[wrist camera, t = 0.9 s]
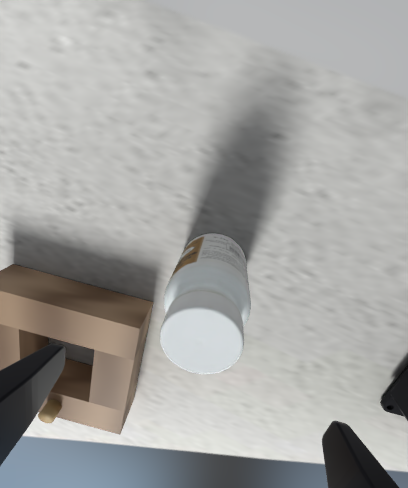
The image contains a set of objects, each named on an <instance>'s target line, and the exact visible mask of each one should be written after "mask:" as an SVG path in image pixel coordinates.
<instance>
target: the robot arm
mask: <svg viewBox="0 0 408 488" xmlns="http://www.w3.org/2000/svg"><path fill="white" fill-rule="evenodd" d="M65 350H66V349H65V346H63V345H60V344H56V343H52V344H49V345H47V346H45V347H43V348H41V349H40V350H38V351H36V352H34V353H32V354H30V355H28V356H26V357H24V358H22V359H21V360H19V361H17V362H15V363H13V364H11V365H9V366H7V367H5V368H4V369H2V370H0V466H1V464H2V463H3V461H4V460H5V459H6V457H7V456H8V455H9V453H10V451H11V450H12V449H13V448H14V446H15V445H16V443H17V442H18V441H19V439H20V438H21V436H22V435H23V434H24V432H25V431H26V430H27V428H28V427H29V425H30V424H31V422H32V421H33V419H34V418H35V416H36V414H37V413H38V411H39V409H40V408H41V406H42V404H43V403H44V401H45V399H46V398H47V396H48V394H49V393H50V391H51V389H52V388H53V386H54V384H55V383H56V381H57V379H58V378H59V376H60V374H61V372H62V371H63V368H64V365H65ZM380 403H381V406H382V407H383V409H384V410H385V411H387V412H390V413H394V414H397V415H401V416H405V418H406V419H407V421H408V366H407V367H406V368H405V370H404V371H403V372H402V374H401V375H400V376H399V378H398V379H397V380H396V382H395V383H394V384H393V386H392V387H391V388H390V390H389V391H388V392H387V394H386V395H385V396H384V398H383V399H382V400H381V402H380ZM322 446H323V453H324V460H325V467H326V475H327V482H328V488H399V487H398V486H397V484H396V483H395V482H394V481H393V479H392V478H391V477H390V476H389V475H388V474H387V472H386V471H385V470H384V468H383V467H382V466H381V465H380V463H379V462H378V461H377V460H376V458H375V457H374V456H373V455H372V454H371V452H370V451H369V450H368V449H367V447H366V446H365V445H364V444H363V442H362V441H361V440H360V439H359V437H358V436H357V435H356V434H355V433H354V431H353V430H352V429H351V428H350V427H349V426H348V425H347V424H345V423H342V422H339V421H333V422H332V423H331V424H330V426H329V427H328V429H327V430H326V432H325V433H324V435H323V438H322Z"/></svg>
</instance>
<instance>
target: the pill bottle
mask: <svg viewBox="0 0 408 488" xmlns="http://www.w3.org/2000/svg"><path fill="white" fill-rule="evenodd" d="M164 308H165V312H166V316H165V319H164V322H163V324H162V327H161V331H160V342H161V346H162V348H163V351H164V353H165V354H166V356H167V357H168V358H169V359H170V360H171V361H172V362H173V363H174V364H176V365H177V366H179V367H180V368H182V369H184V370H186V371H189V372H192V373H197V374H213V373H218V372H221V371H224V370H226V369H228V368H230V367H231V366H232V365H233V364H234V363H235V362H236V361H237V360H238V359H239V357H240V355H241V353H242V350H243V346H244V334H243V326H244V325H245V323H246V322H247V320H248V317H249V314H250V309H251V300H250V291H249V283H248V275H247V265H246V259H245V255H244V253H243V251H242V249H241V247H240V246H239V245H238V244H237V243H236V242H235V241H234V240H233V239H231V238H229V237H227V236H225V235H221V234H216V233H210V234H204V235H201V236H198V237H196V238H195V239H193V240H192V241H190V242H189V243H188V245H187V246H186V247H185V249H184V251H183V253H182V255H181V257H180V260H179V262H178V264H177V266H176V268H175V270H174V272H173V275H172V277H171V279H170V281H169V283H168V285H167V288H166V291H165V294H164Z"/></svg>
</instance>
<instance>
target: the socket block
mask: <svg viewBox="0 0 408 488" xmlns="http://www.w3.org/2000/svg"><path fill="white" fill-rule="evenodd" d="M152 307H153V302H151V301H147V300H143V299H140V298H136V297H132V296H129V295H125V294H121V293H118V292H114V291H110V290H107V289H103V288H99V287H95V286H92V285H88V284H84V283H81V282H77V281H73V280H70V279H66V278H62V277H59V276H55V275H51V274H48V273H44V272H40V271H37V270H33V269H29V268H25V267H22V266H18V265H14V264H13V265H11V266H9V267H7V268H5V269H3V270H1V271H0V370H2V369H4V368H5V367H7V366H9V365H11V364H13V363H15V362H17V361H19V360H21V359H22V358H24V357H26V356H28V355H30V354H32V353H34V352H36V351H38V350H40V349H41V348H43V347H45V346H47V345H48V337H50V338H53V339H57V340H61V341H64V342H68V343H72V344H75V345H79V346H83V347H86V348H90V349H94V359H93V366H91V365H87V364H84V363H80V362H76V361H73V360H69V359H65V365H64V368H63V371H62V372H61V374H60V376H59V378H58V379H57V381H56V383H55V384H54V386H53V388H52V389H51V391H50V393H49V394H48V396H47V398H46V399H45V401H44V403H43V404H42V406H41V408H40V409H39V411H38V412H40V413H39V414H38V417H39V419H40V420H41V421H43V422H45V423H52V422H53V421H54V419H55V418H56V417H58V418H62V419H65V420H69V421H73V422H76V423H80V424H84V425H87V426H91V427H94V428H98V429H102V430H105V431H109V432H113V433H116V434H120V433H121V431H122V428H123V426H124V423H125V421H126V418H127V415H128V413H129V410H130V408H131V405H132V403H133V400H134V395H135V390H136V385H137V380H138V376H139V371H140V366H141V361H142V356H143V351H144V346H145V341H146V336H147V331H148V326H149V321H150V316H151V312H152Z"/></svg>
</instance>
